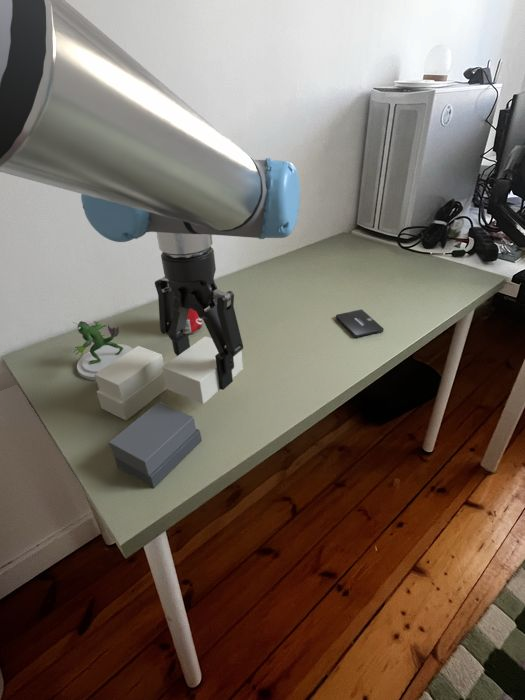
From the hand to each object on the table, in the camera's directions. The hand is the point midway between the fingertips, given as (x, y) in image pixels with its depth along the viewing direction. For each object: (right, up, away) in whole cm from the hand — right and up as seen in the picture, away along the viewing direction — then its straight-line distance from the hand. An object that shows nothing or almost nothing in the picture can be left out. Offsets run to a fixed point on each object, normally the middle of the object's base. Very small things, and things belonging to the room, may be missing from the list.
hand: (205, 377), depth 74 cm
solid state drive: (+32, +10, +25) cm, 42 cm away
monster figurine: (-23, +2, +18) cm, 29 cm away
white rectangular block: (0, 0, 0) cm, 0 cm away
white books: (-14, -4, +7) cm, 16 cm away
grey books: (-7, -12, -5) cm, 14 cm away
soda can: (-8, +9, +28) cm, 30 cm away
